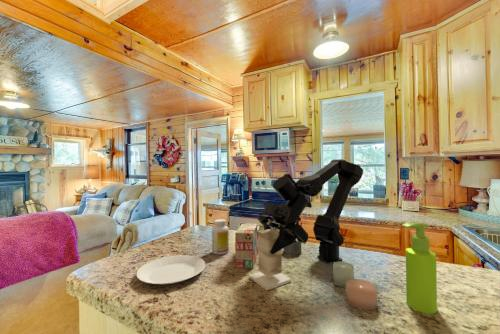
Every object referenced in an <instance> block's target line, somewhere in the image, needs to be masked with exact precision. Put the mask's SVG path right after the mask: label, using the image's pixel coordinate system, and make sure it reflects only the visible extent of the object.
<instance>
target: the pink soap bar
mask: <svg viewBox="0 0 500 334" xmlns="http://www.w3.org/2000/svg"><path fill="white" fill-rule="evenodd" d="M345 299H346V302H347V303H348V304H349V305H350V306H353V307H354V308H357V309H359V310H365V311H371V310H375V309H377V307H378V288H377V286H376V285H375V284H374V283H372V282H370V281H367V280H364V279H360V278H354V279H350V280H348V281H347V282H346V287H345Z"/></svg>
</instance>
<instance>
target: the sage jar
mask: <svg viewBox="0 0 500 334" xmlns="http://www.w3.org/2000/svg"><path fill="white" fill-rule="evenodd" d="M332 275H333V276H332V277H333V278H332V281H333V283H334V285H336V286H338V287H340V288H346V282H347V281H348V280H350V279H355V267H354V265H353V264H352V263H349V262H346V261H338V262H333V263H332Z"/></svg>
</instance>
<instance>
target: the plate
mask: <svg viewBox="0 0 500 334" xmlns="http://www.w3.org/2000/svg"><path fill="white" fill-rule="evenodd" d="M205 267H206V261H204V259H203V258H201V257H199V256H196V255H195V256H194V255H188V254H179V255H170V256H164V257H160V258H157V259H154V260H150V261H148V262H147V263H145V264H143V265H142V266H140V267H139V269H138V270H137V272H136V278H137V279H138V280H140V281H141V282H143V283H145V284H152V285H165V286H166V285H173V284H179V283H182V282H185V281H186V280H187V281H188V280H190V279H191V278H193V277H195V276H197V275H199V274H201V273H202V271H203V270H205Z"/></svg>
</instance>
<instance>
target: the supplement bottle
mask: <svg viewBox="0 0 500 334" xmlns="http://www.w3.org/2000/svg"><path fill="white" fill-rule="evenodd" d="M213 222H214V223H213V224H214V226H213V227H212V228H211V249H212V250H211V252H212V254H214V255H218V256H221V255H226V254H228V253H229V251H230V249H229V248H230V247H229V246H230V244H229V241H230V240H229V239H230V238H229V236H230V235H229V227H228V226H227V220H226V219H223V218H220V219H215V220H214V221H213Z"/></svg>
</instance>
